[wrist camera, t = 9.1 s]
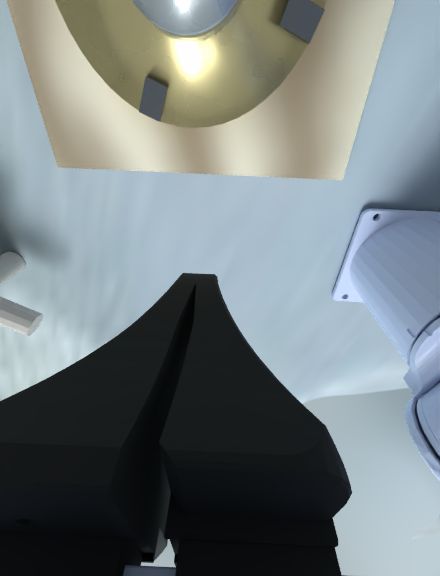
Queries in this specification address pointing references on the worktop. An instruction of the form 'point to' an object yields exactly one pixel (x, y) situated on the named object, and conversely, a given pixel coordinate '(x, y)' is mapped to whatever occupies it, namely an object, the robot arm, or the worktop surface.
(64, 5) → the crank handle
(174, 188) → the worktop surface
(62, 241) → the worktop surface
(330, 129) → the beige flat board
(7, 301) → the pipe connector
